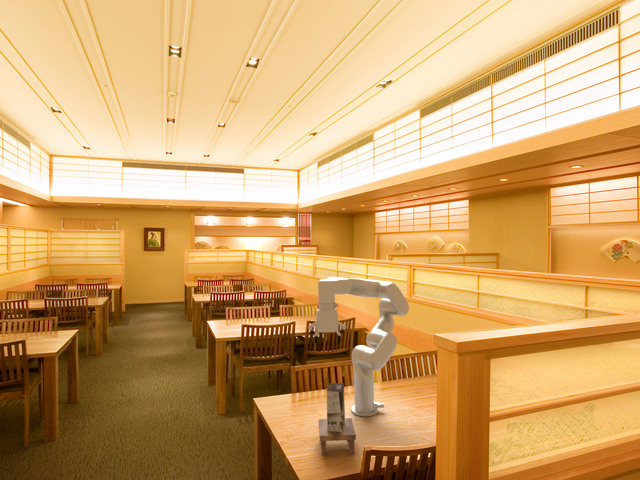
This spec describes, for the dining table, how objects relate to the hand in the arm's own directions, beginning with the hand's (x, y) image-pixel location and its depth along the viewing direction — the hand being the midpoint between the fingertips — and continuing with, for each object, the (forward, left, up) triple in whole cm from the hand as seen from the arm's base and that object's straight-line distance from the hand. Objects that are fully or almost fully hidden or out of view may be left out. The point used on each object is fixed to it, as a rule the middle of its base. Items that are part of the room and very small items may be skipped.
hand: (327, 344), depth 177 cm
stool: (-2, +19, -36) cm, 41 cm away
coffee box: (-2, +19, -28) cm, 34 cm away
